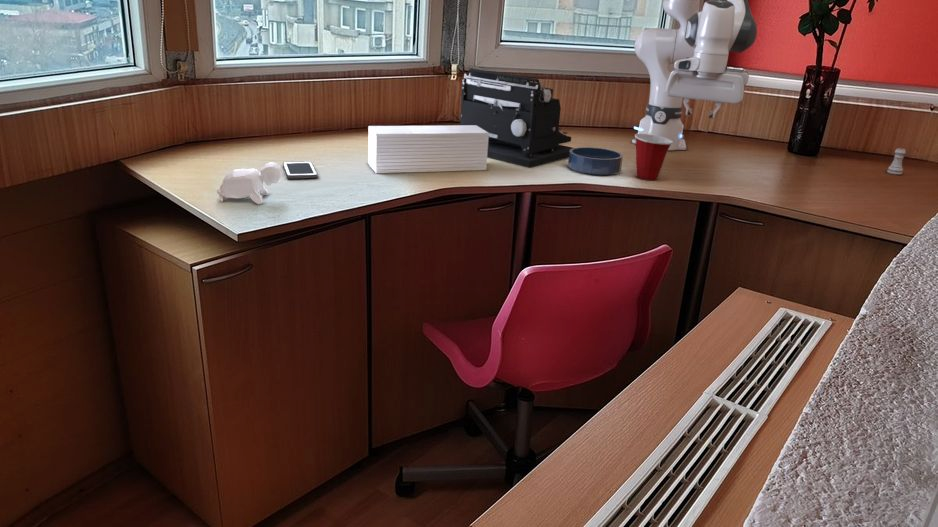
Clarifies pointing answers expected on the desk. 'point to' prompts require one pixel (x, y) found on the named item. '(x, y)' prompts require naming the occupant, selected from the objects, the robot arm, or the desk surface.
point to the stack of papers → (427, 148)
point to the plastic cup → (650, 155)
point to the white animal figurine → (250, 182)
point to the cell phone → (299, 169)
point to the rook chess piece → (897, 163)
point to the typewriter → (514, 117)
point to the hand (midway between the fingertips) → (700, 116)
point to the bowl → (595, 160)
